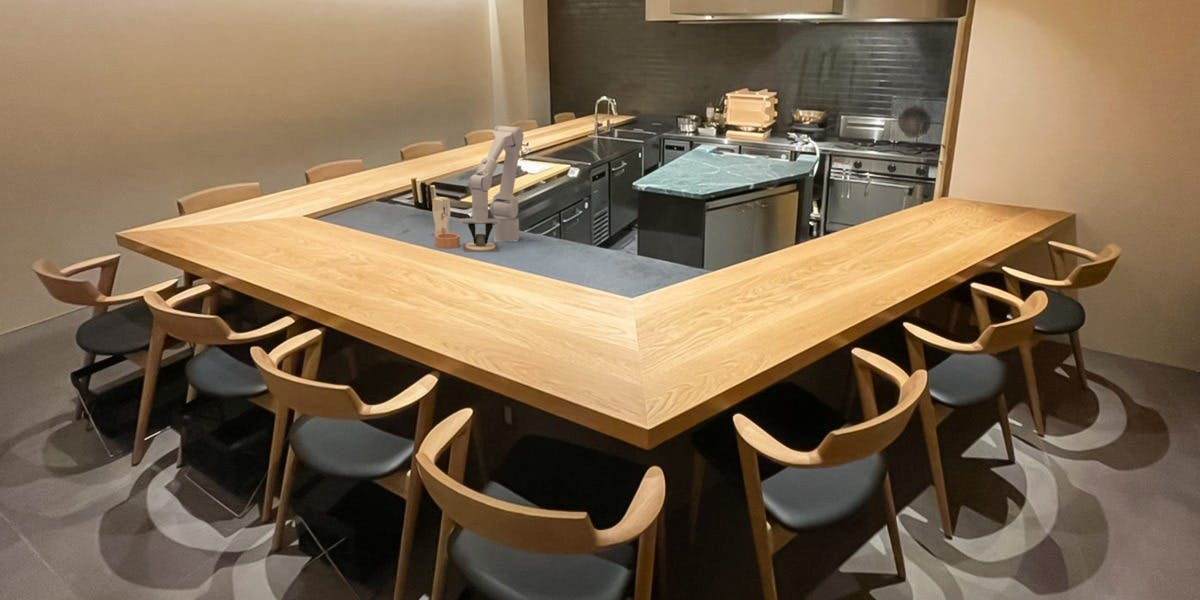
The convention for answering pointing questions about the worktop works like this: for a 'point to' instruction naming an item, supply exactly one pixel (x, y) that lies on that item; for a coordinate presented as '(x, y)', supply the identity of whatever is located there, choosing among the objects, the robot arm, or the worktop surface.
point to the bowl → (447, 240)
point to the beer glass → (441, 214)
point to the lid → (480, 244)
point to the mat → (480, 251)
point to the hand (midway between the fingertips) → (480, 243)
